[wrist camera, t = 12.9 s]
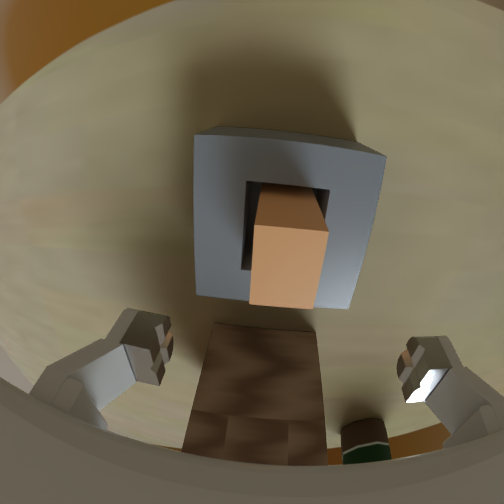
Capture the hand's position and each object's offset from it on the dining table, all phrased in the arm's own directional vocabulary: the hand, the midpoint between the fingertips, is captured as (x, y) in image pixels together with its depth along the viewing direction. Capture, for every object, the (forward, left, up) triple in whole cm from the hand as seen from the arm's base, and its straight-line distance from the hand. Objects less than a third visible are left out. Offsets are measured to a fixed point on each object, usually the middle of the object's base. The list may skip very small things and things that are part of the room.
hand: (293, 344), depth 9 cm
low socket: (0, 0, -14) cm, 14 cm away
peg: (0, 0, -12) cm, 12 cm away
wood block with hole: (0, +18, -14) cm, 23 cm away
